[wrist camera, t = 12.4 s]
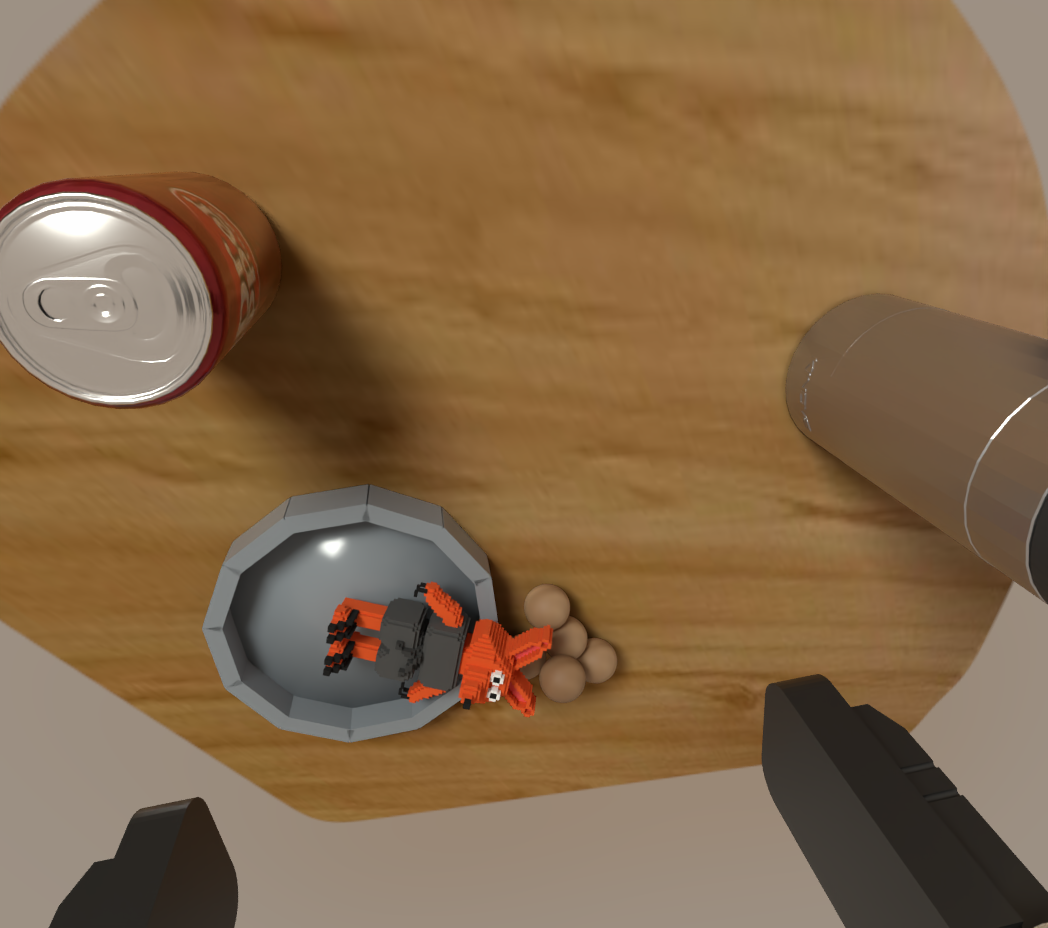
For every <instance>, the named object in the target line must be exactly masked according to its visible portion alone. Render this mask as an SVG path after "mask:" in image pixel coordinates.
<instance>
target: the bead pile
mask: <svg viewBox="0 0 1048 928" xmlns="http://www.w3.org/2000/svg"><path fill="white" fill-rule="evenodd" d="M524 612H525V615H526V618H527V620H528V621H529V622H530V624H531V625H533V626H534V627H535V628H543V627H544V626H547V625H550V628H553V634H552V645H551V649H547V653H548V654H549V655H550V656H551V658H549V659H548V660H547V661H546V651H543V653H542V657H541V658H538V660H534V662H530V664H526V666H522V668H519V669H520V672H523V675H525V678H527V679H532V678H534V677H536V676H537V675H538V674H539V673H540V676H539V681H540V686H541V688H542V690H543V692H544V694H545V695H546V696H547V697H548V698H550V699H551V700H553V701H555V702H559V703H567V702H571V701H573V700H575V699H576V698H577V697H578V696H580V694H581V693H582V691H583V689H584V687H585V682H586V681H587V682H590V683H602V682H604V681H606V680H608V679H609V678H610V677H611V676H612V675H613V674H614V672H615V670H616V667H617V656H616V653H615V651H614V649H613V647H612V646H611V645H610V644H609V643H608V642H606V641H605V640H603V639H599V638H590V639H587V632H586V630H585V628H584V626H583V625H582V623H581V622H580V621H579V620H577V619H576V618H574V617H571V616H569V613H570V602H569V599H568V597H567V595H566V593H565V592H564V591H563V590H562V589H561V588H559V587H557V586H555V585H552V584H542V585H539V586H536V587H535V588H533V589H532V590H531V591H530V592H529V593H528V595H527V597H526V599H525V603H524ZM518 635H519V634H517V635H515V636H517V637H518ZM521 635H522V634H521ZM515 636H513V637H511V638H514V639H515Z"/></svg>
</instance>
